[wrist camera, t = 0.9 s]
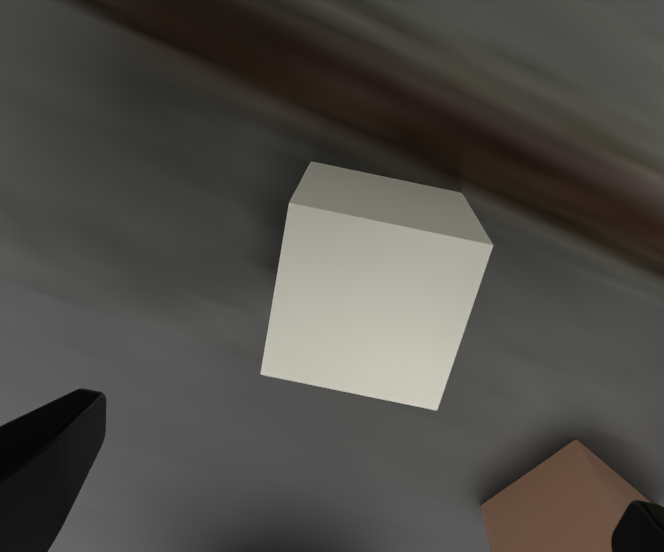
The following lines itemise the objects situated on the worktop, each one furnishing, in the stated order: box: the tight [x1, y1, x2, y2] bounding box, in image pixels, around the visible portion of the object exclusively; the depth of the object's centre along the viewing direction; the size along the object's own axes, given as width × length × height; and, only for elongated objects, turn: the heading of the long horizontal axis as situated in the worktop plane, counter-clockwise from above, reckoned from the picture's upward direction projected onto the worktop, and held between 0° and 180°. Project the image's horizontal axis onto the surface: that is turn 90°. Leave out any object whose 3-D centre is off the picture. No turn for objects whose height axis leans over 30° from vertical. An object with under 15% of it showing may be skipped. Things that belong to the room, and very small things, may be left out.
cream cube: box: [260, 161, 493, 410], centre depth 16 cm, size 5×5×5 cm
